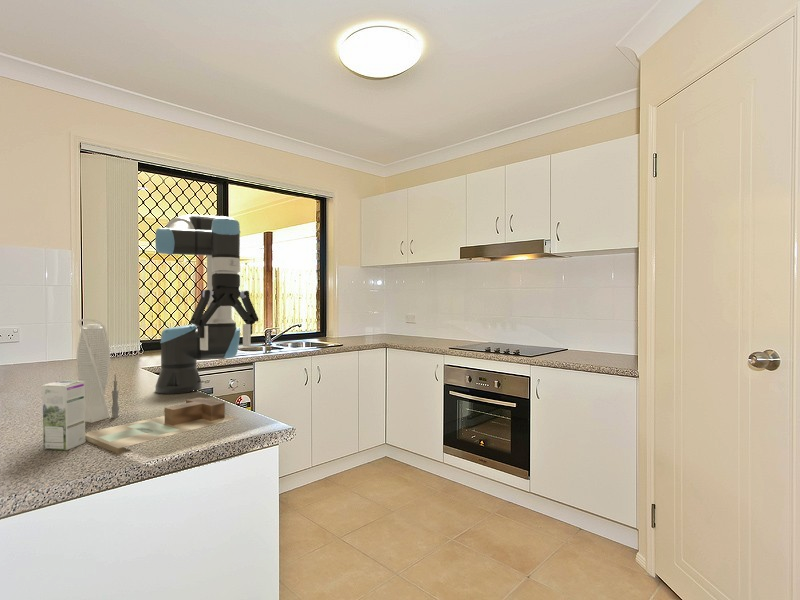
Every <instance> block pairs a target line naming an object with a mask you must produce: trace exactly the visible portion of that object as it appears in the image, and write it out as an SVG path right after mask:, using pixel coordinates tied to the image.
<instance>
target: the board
mask: <svg viewBox="0 0 800 600" xmlns="http://www.w3.org/2000/svg"><path fill="white" fill-rule="evenodd" d="M234 420H239V417H237V416H232V415H228V414H225V418H222V419H217V420H213V421H209V420H205V419H199V420H195V421H191V422H186V423H182V424H178V425H174V426H172V425H169V424H166V423H165V415H161V416H157V417H153V418H152V417H151V418H148V419H143V420H138V421H134V422H130V423H124V424H119V425H115V426H110V427H105V428H100V429H95V430H90V431H87V432H86V431H85V439H86V442H89V443H91V444H94V445H95V446H98V447H101V448H103V449H104V450H108V451H109V452H112V453H114V454H117V455H120V454H124V453H127V452H131V451H132V449H128V448H126V447H130V446H135V445H138V444H139V445H140V444H142V443H147V442H149V441H150V442H151V441H154V440H159V439H163V438H166V437H171V436H174V435H178V434H181V433H182V434H183V433H186V432H190V431H194V430H199V429H202V428H206V427H210V426H213V425H218V424H222V423H226V422H230V421H234Z"/></svg>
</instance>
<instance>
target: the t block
mask: <svg viewBox="0 0 800 600" xmlns="http://www.w3.org/2000/svg"><path fill="white" fill-rule="evenodd" d="M225 404H226V403H225V402H222V401H217V400H213V399H208V398H203V397H200V396H199V397H194V398H189V399H185V403H181V404H177V405H171V406H166V407H164V416H165V423H166V424H169V425H172V426H174V425H178V424H182V423H186V422H191V421H195V420H199V419H205V420H209V421H213V420H217V419H222V418H225V415H226V414H225V413H226V412H225V411H226V410H225V407H226V406H225Z"/></svg>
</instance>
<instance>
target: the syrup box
mask: <svg viewBox="0 0 800 600" xmlns="http://www.w3.org/2000/svg"><path fill="white" fill-rule="evenodd" d="M41 389H42V439H43V442H42V444H43V446H42V447H43V448H42V449H43V450H47V451H48V450H49V451H50V450H51V451H53V450H54V451H69V450H71V449H73V448H74V449H75V448H76V447H78V446H81V445H83V444H85V443H86V442H87V441H86V439H85V433H86V422H85V382H84V381H78V380H57V381H51V382H49V383H45V384H42V388H41Z"/></svg>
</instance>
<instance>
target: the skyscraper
mask: <svg viewBox="0 0 800 600" xmlns="http://www.w3.org/2000/svg"><path fill="white" fill-rule="evenodd" d="M77 322H78V325H79V328H80V334H79V338H78V343H77V351H76V359H75V360H76V362H75V363H76V364H75V365H76V376H77V377H76V378H77V381H84V382H85V423H90V424H93V423H95V422H99V421H102V420H106V419H110V413H109V409H108V405H107V401H106V398H105V394H106V390H107V387H108V386H107V385H108V381H109V376H110V371H111V349H110V343H109V339H108V338H109V337H108V333H107V329H106V326H105V325H104V324H103V323H102V322H100V321H99V320H96V319H91V318H81V319H79V320H77ZM82 322H93V323H87V324H86V323H85V324H82ZM119 392H120V391H119V389H118V381H117V374H114V380H113V390H111V395H112V396H111V397H112V405H111V417H112V419H113V418H114V419H115V418H119V413H120V406H119Z"/></svg>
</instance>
